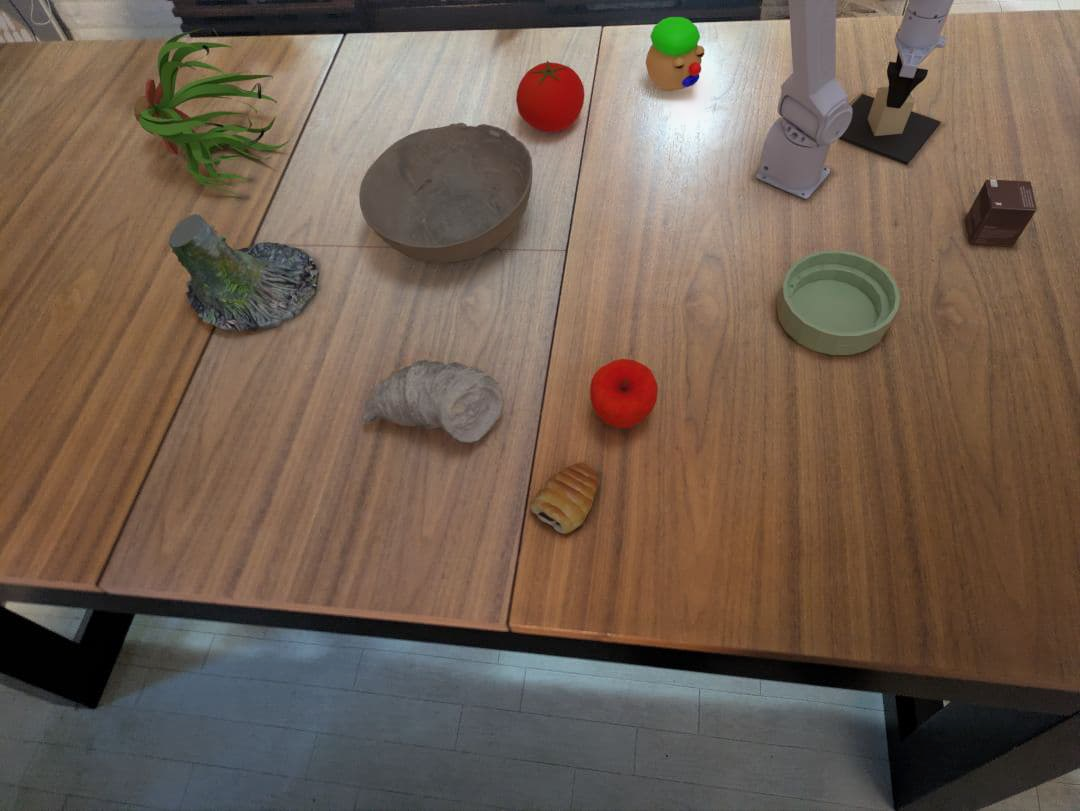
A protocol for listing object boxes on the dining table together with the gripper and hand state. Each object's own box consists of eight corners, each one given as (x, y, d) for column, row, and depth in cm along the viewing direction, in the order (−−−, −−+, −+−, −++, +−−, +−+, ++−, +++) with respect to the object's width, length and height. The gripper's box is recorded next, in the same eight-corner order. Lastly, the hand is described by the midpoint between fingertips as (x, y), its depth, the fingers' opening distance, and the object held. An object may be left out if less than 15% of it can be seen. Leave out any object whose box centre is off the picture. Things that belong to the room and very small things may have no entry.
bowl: (565, 187, 120) (560, 138, 111) (492, 307, 108) (481, 262, 100) (426, 154, 128) (412, 106, 120) (345, 261, 116) (323, 216, 108)
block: (874, 136, 118) (885, 104, 113) (867, 119, 120) (878, 87, 115) (902, 133, 118) (914, 101, 113) (894, 116, 120) (906, 84, 115)
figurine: (634, 85, 132) (636, 23, 122) (673, 63, 135) (677, 0, 124) (676, 113, 127) (681, 50, 117) (715, 89, 129) (723, 26, 119)
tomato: (596, 111, 130) (594, 57, 121) (561, 151, 125) (556, 99, 116) (544, 95, 134) (538, 42, 125) (509, 133, 129) (500, 81, 120)
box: (1013, 248, 104) (1038, 210, 98) (968, 245, 105) (990, 208, 99) (1007, 218, 107) (1031, 180, 101) (964, 215, 108) (985, 178, 102)
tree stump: (318, 329, 110) (238, 260, 95) (212, 361, 115) (120, 301, 100) (324, 240, 118) (252, 163, 103) (226, 273, 124) (144, 205, 108)
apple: (636, 452, 93) (637, 423, 86) (578, 424, 96) (575, 394, 89) (667, 401, 96) (670, 369, 90) (610, 376, 99) (610, 343, 93)
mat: (827, 134, 120) (828, 131, 120) (861, 96, 124) (862, 93, 124) (906, 165, 115) (908, 162, 114) (939, 124, 119) (941, 121, 118)
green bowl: (756, 323, 102) (762, 301, 97) (809, 258, 107) (817, 234, 103) (855, 375, 96) (866, 354, 91) (907, 304, 101) (919, 280, 97)
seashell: (363, 425, 99) (338, 387, 91) (434, 356, 104) (418, 314, 96) (443, 489, 93) (425, 454, 84) (516, 412, 98) (506, 372, 89)
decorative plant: (193, 140, 146) (326, 139, 140) (122, 205, 129) (269, 208, 123) (127, 2, 127) (277, -5, 121) (35, 58, 111) (204, 53, 105)
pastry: (568, 458, 93) (567, 445, 90) (612, 483, 91) (612, 471, 88) (527, 514, 90) (524, 503, 87) (572, 542, 87) (570, 531, 84)
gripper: (952, 40, 98) (917, 124, 109) (964, -17, 104) (929, 68, 116) (898, 33, 100) (869, 116, 111) (913, -22, 106) (884, 62, 118)
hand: (897, 91), depth 114 cm, fingers open, 7 cm apart
